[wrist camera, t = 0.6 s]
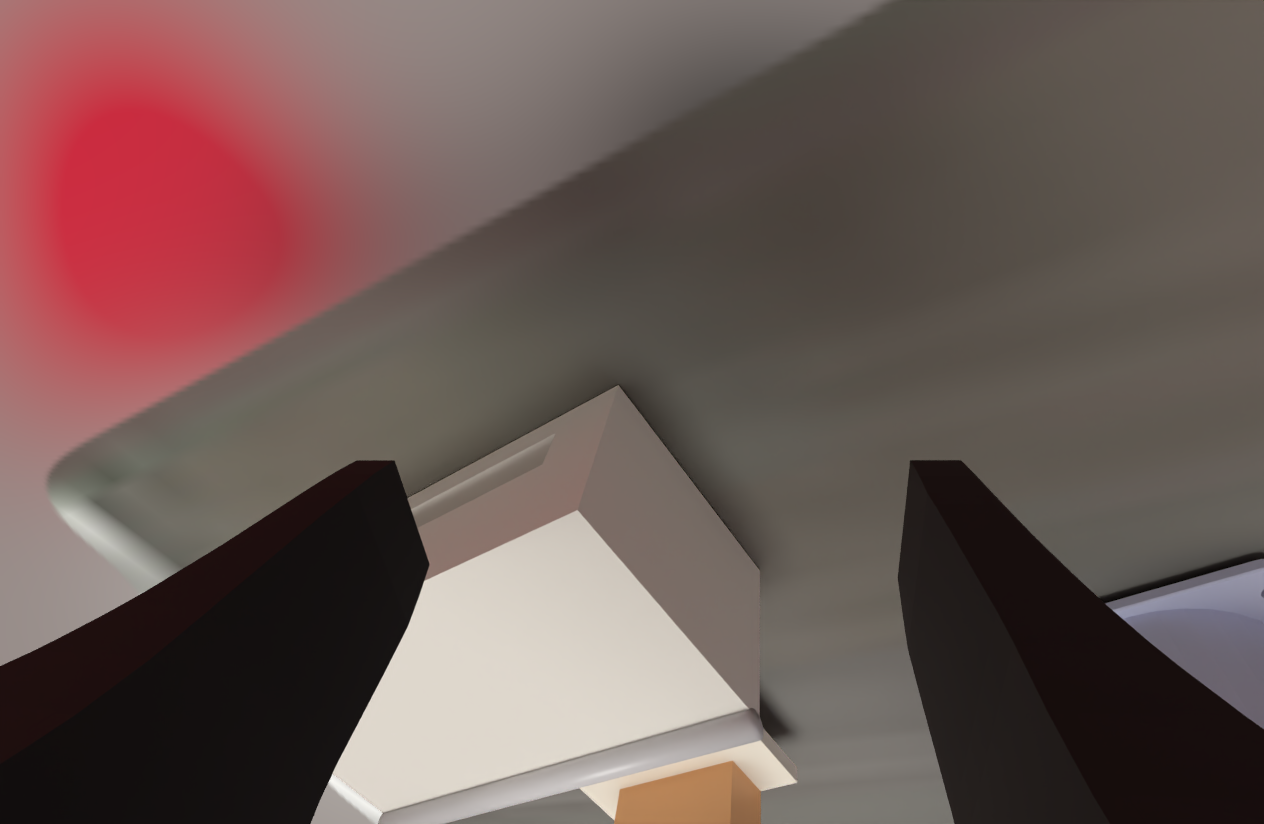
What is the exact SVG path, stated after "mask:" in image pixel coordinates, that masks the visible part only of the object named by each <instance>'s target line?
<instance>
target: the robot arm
mask: <svg viewBox="0 0 1264 824" xmlns="http://www.w3.org/2000/svg"><path fill="white" fill-rule="evenodd" d="M429 565H430V564H429V561H428V558H427V555H426V552H425V549H424V546H423V543H422V540H421V537H420V534H419V531H418V528H417V525H416V522H415V519H414V517H413V514H412V511H411V508H410V505H409V502H408V499H407V496H406V493H405V490H404V487H403V484H402V481H401V478H400V475H399V472H398V470H397V467H396V464H395V461H355V462H353V463H351V464H349V465H348V466H346V467H344V468H342V469H340V470H339V471H337V472H335V473H333V474H332V475H330V476H328V477H327V478H325V479H323V480H322V481H320V482H319V483H317V484H315V485H314V486H312V487H311V488H309V489H308V490H306V491H304V492H303V493H301V494H300V495H298V496H297V497H295V498H294V499H292V500H291V501H289V502H287V503H286V504H284V505H283V506H281V507H280V508H278V509H277V510H275V511H274V512H272V513H271V514H269V515H267V516H266V517H264V518H263V519H261V520H260V521H258V522H257V523H255V524H254V525H252V526H250V527H249V528H247V529H246V530H244V531H243V532H241V533H240V534H238V535H237V536H235V537H234V538H232V539H230V540H229V541H227V542H226V543H224V544H223V545H221V546H219V547H218V548H216V549H215V550H213V551H211V552H210V553H208V554H206V555H205V556H203V557H201V558H200V559H198V560H196V561H195V562H193V563H192V564H190V565H188V566H187V567H185V568H183V569H182V570H180V571H178V572H177V573H175V574H173V575H172V576H170V577H169V578H167V579H165V580H164V581H162V582H160V583H159V584H157V585H155V586H154V587H152V588H150V589H149V590H147V591H145V592H144V593H142V594H140V595H138V596H137V597H135V598H133V599H132V600H130V601H128V602H126V603H124V604H123V605H121V606H119V607H117V608H115V609H114V610H112V611H110V612H108V613H106V614H104V615H102V616H101V617H99V618H97V619H95V620H93V621H91V622H89V623H87V624H85V625H83V626H81V627H80V628H78V629H76V630H74V631H72V632H70V633H68V634H66V635H64V636H62V637H61V638H58V639H57V640H55V641H53V642H50V643H48V644H46V645H44V646H43V647H41V648H38V649H36V650H34V651H32V652H30V653H28V654H26V655H24V656H21V657H19V658H17V659H15V660H13V661H10V662H8V663H6V664H4V665H2V666H0V824H310V823H311V821H312V818H313V816H314V813H315V811H316V808H317V806H318V803H319V801H320V799H321V797H322V795H323V792H324V790H325V788H326V786H327V784H328V782H329V780H330V778H331V775H332V773H333V771H334V769H335V767H336V765H337V763H338V761H339V759H340V757H341V755H342V753H343V752H344V750H345V748H346V746H347V744H348V742H349V740H350V738H351V736H352V734H353V732H354V730H355V729H356V727H357V725H358V723H359V721H360V719H361V717H362V715H363V713H364V711H365V709H366V707H367V706H368V704H369V702H370V700H371V698H372V696H373V694H374V692H375V690H376V688H377V686H378V684H379V683H380V681H381V679H382V677H383V675H384V673H385V671H386V669H387V667H388V665H389V663H390V661H391V659H392V657H393V655H394V653H395V651H396V649H397V647H398V645H399V643H400V641H401V639H402V637H403V635H404V633H405V631H406V629H407V627H408V625H409V622H410V620H411V617H412V614H413V612H414V609H415V606H416V604H417V601H418V598H419V595H420V592H421V589H422V586H423V583H424V580H425V577H426V574H427V571H428V568H429ZM898 582H899V590H900V597H901V605H902V612H903V619H904V626H905V632H906V639H907V646H908V651H909V655H910V659H911V663H912V666H913V670H914V674H915V678H916V681H917V685H918V689H919V693H920V697H921V700H922V704H923V708H924V712H925V715H926V719H927V723H928V726H929V730H930V734H931V737H932V741H933V745H934V748H935V752H936V756H937V760H938V763H939V767H940V771H941V774H942V778H943V782H944V785H945V789H946V793H947V797H948V800H949V804H950V808H951V811H952V815H953V819H954V823H955V824H1264V559H1259V560H1254V561H1251V562H1247V563H1244V564H1240V565H1237V566H1233V567H1230V568H1226V569H1223V570H1219V571H1216V572H1212V573H1209V574H1205V575H1202V576H1198V577H1195V578H1191V579H1188V580H1185V581H1181V582H1178V583H1174V584H1171V585H1167V586H1164V587H1160V588H1157V589H1153V590H1150V591H1146V592H1143V593H1139V594H1136V595H1132V596H1129V597H1125V598H1122V599H1118V600H1115V601H1111V602H1108V603H1104V602H1103V601H1101V600H1100V599H1099V598H1098V597H1097V596H1096V595H1095V594H1094V593H1093V592H1092V591H1091V590H1089V589H1088V588H1087V587H1086V586H1085V585H1084V584H1083V583H1082V582H1081V581H1080V580H1079V579H1078V578H1077V577H1076V576H1075V575H1074V574H1072V573H1071V572H1070V571H1069V570H1068V569H1067V568H1066V567H1065V566H1064V565H1063V564H1062V563H1061V562H1060V561H1059V560H1058V559H1057V558H1056V557H1055V556H1054V555H1053V554H1052V553H1051V552H1050V551H1049V550H1048V549H1046V548H1045V547H1044V546H1043V545H1042V544H1041V543H1040V542H1039V541H1038V540H1037V539H1036V538H1035V537H1034V536H1033V535H1032V534H1031V533H1030V532H1029V531H1028V530H1027V528H1026V527H1025V526H1024V525H1023V524H1022V523H1021V522H1020V521H1019V520H1018V519H1017V518H1016V517H1015V516H1014V515H1013V514H1012V513H1011V512H1010V511H1009V510H1008V509H1007V508H1006V507H1005V506H1004V505H1003V504H1002V503H1001V501H1000V500H999V499H998V498H997V497H996V496H995V495H994V494H993V493H992V492H991V491H990V490H989V489H988V488H987V487H986V486H985V485H984V483H983V482H982V481H981V480H980V479H979V478H978V477H977V476H976V475H975V474H974V473H973V472H972V471H971V470H970V469H969V468H968V467H967V466H966V465H965V464H964V463H963V462H962V461H961V460H910V469H909V478H908V487H907V497H906V506H905V516H904V525H903V534H902V544H901V553H900V562H899V572H898Z"/></svg>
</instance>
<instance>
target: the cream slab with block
mask: <svg viewBox="0 0 1264 824" xmlns="http://www.w3.org/2000/svg"><path fill="white" fill-rule="evenodd" d="M794 783H798V781H797V766H796V765H795V764H794V763H793V762H792V761H791V760H790V758H789V757H788V756H787V755H786V754H785V753H784V751H783V750H782V749H781V748H780V747H779V746H778V744H777V743H776V742H775V741H774V740H773V739H772V738H771V736H770V735H769V734H768V733H767V732H766V731H765V729H764V728H763V738H762V740H760V741H757V742H753V743H749V744H745V745H741V746H738V747H734V748H730V749H726V750H722V751H719V752H715V753H711V754H707V755H703V756H700V757H696V758H692V759H688V760H684V761H681V762H677V763H673V764H669V765H665V766H662V767H658V768H654V769H650V770H646V771H643V772H639V773H635V774H631V775H627V776H624V777H620V778H616V779H612V780H608V781H605V782H601V783H597V784H593V785H589V786H585V787H582V788H580V789H581V790H582V791H583V792H584V793H585V794H586V795H587V796H589V797H590V798H591V799H592V800H593V801H594V802H595V803H596V804H597V805H598V806H599V807H600V808H602V809H603V810H604V811H605V812H606V813H607V814H608V815H609V816H610V817H611V818H612V819H613V820H615V821H614V824H761V791H763V790H768V789H772V788H776V787H781V786H785V785H789V784H794Z"/></svg>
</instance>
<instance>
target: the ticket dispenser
mask: <svg viewBox="0 0 1264 824" xmlns="http://www.w3.org/2000/svg"><path fill="white" fill-rule="evenodd" d="M407 499H408V502H409V505H410V508H411V511H412V514H413V517H414V519H415V522H416V525H417V528H418V531H419V534H420V537H421V540H422V543H423V546H424V549H425V552H426V555H427V558H428V561H429V564H430V565H429V568H428V571H427V574H426V577H425V580H424V583H423V586H422V589H421V592H420V595H419V598H418V601H417V604H416V606H415V609H414V612H413V614H412V617H411V620H410V622H409V625H408V627H407V629H406V631H405V633H404V635H403V637H402V639H401V641H400V643H399V645H398V647H397V649H396V651H395V653H394V655H393V657H392V659H391V661H390V663H389V665H388V667H387V669H386V671H385V673H384V675H383V677H382V679H381V681H380V683H379V684H378V686H377V688H376V690H375V692H374V694H373V696H372V698H371V700H370V702H369V704H368V706H367V707H366V709H365V711H364V713H363V715H362V717H361V719H360V721H359V723H358V725H357V727H356V729H355V730H354V732H353V734H352V736H351V738H350V740H349V742H348V744H347V746H346V748H345V750H344V752H343V753H342V755H341V757H340V759H339V761H338V763H337V765H336V767H335V769H334V771H333V773H332V774H333V775H335V776H336V777H337V778H339V779H340V780H341V781H342V782H344V783H345V784H346V785H348V786H349V787H350V788H351V789H353V790H354V791H355V792H357V793H358V794H359V795H360V796H362V797H363V798H364V799H366V800H367V801H368V802H370V803H371V804H372V805H373V806H375V807H376V808H377V809H379V810H380V811H381V812H382V813H383V814H382V815H381V817H380V819H379V823H378V824H445V823H449V822H452V821H456V820H460V819H464V818H468V817H471V816H475V815H479V814H483V813H487V812H490V811H494V810H498V809H502V808H506V807H509V806H513V805H517V804H521V803H525V802H528V801H532V800H536V799H540V798H544V797H547V796H551V795H555V794H559V793H563V792H566V791H570V790H574V789H578V788H582V787H585V786H589V785H593V784H597V783H601V782H605V781H608V780H612V779H616V778H620V777H624V776H627V775H631V774H635V773H639V772H643V771H646V770H650V769H654V768H658V767H662V766H665V765H669V764H673V763H677V762H681V761H684V760H688V759H692V758H696V757H700V756H703V755H707V754H711V753H715V752H719V751H722V750H726V749H730V748H734V747H738V746H741V745H745V744H749V743H753V742H757V741H760V740H762V738H763V725H762V722H761V719H760V570H759V569H758V568H757V566H756V565H755V564H754V562H753V561H752V560H751V558H750V557H749V556H748V554H747V553H746V552H745V551H744V549H743V548H742V547H741V545H740V544H739V543H738V541H737V540H736V539H735V537H734V536H733V535H732V533H731V532H730V531H729V529H728V528H727V527H726V526H725V524H724V523H723V522H722V520H721V519H720V518H719V516H718V515H717V514H716V512H715V511H714V510H713V508H712V507H711V506H710V505H709V503H708V502H707V501H706V499H705V498H704V497H703V495H702V494H701V493H700V491H699V490H698V489H697V487H696V486H695V485H694V484H693V482H692V481H691V480H690V478H689V477H688V476H687V474H686V473H685V472H684V470H683V469H682V468H681V466H680V465H679V464H678V462H677V461H676V460H675V459H674V457H673V456H672V455H671V453H670V452H669V451H668V449H667V448H666V447H665V445H664V444H663V443H662V441H661V440H660V439H659V438H658V436H657V435H656V434H655V432H654V431H653V430H652V428H651V427H650V426H649V424H648V423H647V422H646V420H645V419H644V418H643V416H642V415H641V414H640V413H639V411H638V410H637V409H636V407H635V406H634V405H633V403H632V402H631V401H630V399H629V398H628V397H627V395H626V394H625V393H624V392H623V390H622V389H621V388H620V386H619V385H617V386H615V387H613V388H612V389H610V390H608V391H606V392H604V393H602V394H600V395H599V396H597V397H595V398H593V399H591V400H589V401H587V402H586V403H584V404H582V405H580V406H578V407H576V408H574V409H573V410H571V411H569V412H567V413H565V414H563V415H561V416H559V417H558V418H556V419H554V420H552V421H550V422H548V423H546V424H545V425H543V426H541V427H539V428H537V429H535V430H533V431H532V432H530V433H528V434H526V435H524V436H522V437H520V438H519V439H517V440H515V441H513V442H511V443H509V444H507V445H505V446H504V447H502V448H500V449H498V450H496V451H494V452H492V453H491V454H489V455H487V456H485V457H483V458H481V459H479V460H478V461H476V462H474V463H472V464H470V465H468V466H466V467H464V468H463V469H461V470H459V471H457V472H455V473H453V474H451V475H450V476H448V477H446V478H444V479H442V480H440V481H438V482H437V483H435V484H433V485H431V486H429V487H427V488H425V489H424V490H422V491H420V492H418V493H416V494H414V495H412V496H410V497H409V498H407Z"/></svg>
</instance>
